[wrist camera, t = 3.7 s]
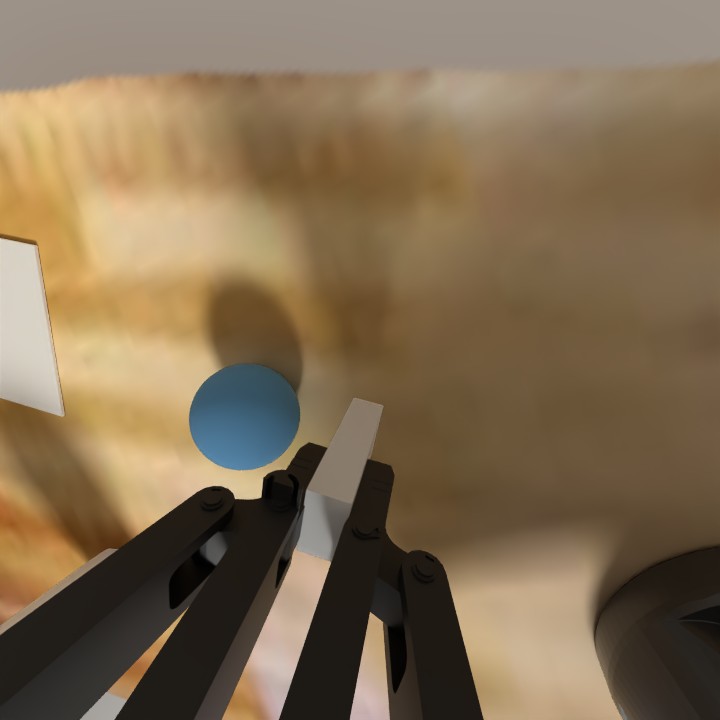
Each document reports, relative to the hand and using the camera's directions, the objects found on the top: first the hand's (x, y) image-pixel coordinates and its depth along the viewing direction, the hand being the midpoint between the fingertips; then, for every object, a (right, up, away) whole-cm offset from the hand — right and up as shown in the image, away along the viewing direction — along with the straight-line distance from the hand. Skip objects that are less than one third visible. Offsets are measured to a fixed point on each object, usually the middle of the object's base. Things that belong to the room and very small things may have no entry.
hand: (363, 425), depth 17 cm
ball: (-6, 0, +1) cm, 6 cm away
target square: (-27, +6, +7) cm, 28 cm away
